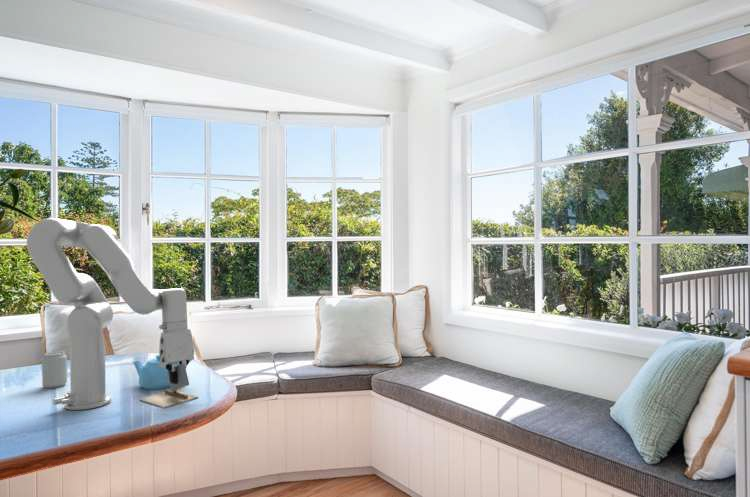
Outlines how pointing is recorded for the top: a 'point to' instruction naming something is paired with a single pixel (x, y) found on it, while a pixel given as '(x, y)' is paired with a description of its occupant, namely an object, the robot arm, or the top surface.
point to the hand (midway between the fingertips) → (177, 381)
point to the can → (54, 369)
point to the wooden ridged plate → (168, 398)
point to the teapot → (153, 374)
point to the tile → (179, 378)
